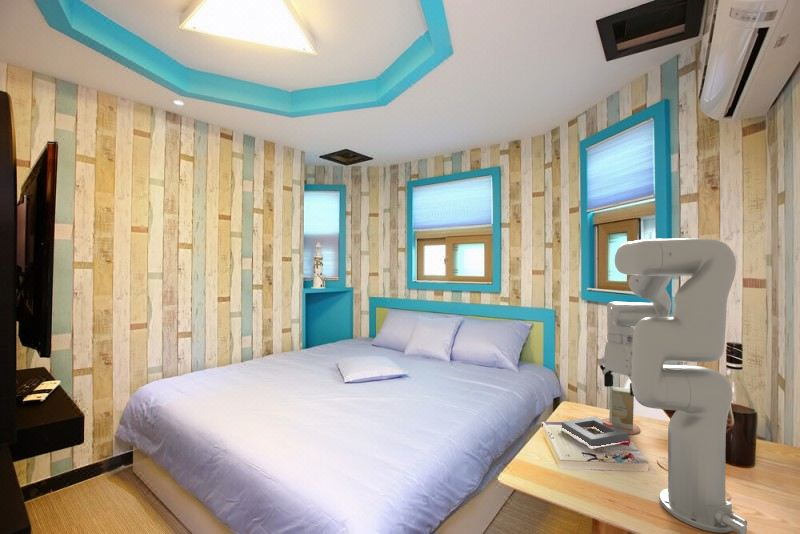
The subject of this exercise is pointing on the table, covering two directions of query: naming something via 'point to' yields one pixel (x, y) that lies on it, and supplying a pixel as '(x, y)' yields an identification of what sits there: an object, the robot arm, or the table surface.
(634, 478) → the table surface
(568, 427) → the gray square frame
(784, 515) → the table surface
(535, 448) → the table surface
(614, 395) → the skincare box
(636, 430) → the coaster
